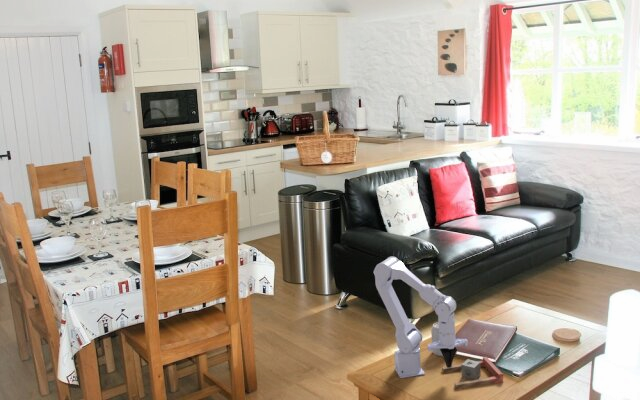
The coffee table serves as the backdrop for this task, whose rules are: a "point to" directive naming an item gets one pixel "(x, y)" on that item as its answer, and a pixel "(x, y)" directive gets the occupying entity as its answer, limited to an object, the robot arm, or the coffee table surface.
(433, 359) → the coffee table surface
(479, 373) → the dice cube
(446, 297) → the robot arm
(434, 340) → the can
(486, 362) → the guide channel
